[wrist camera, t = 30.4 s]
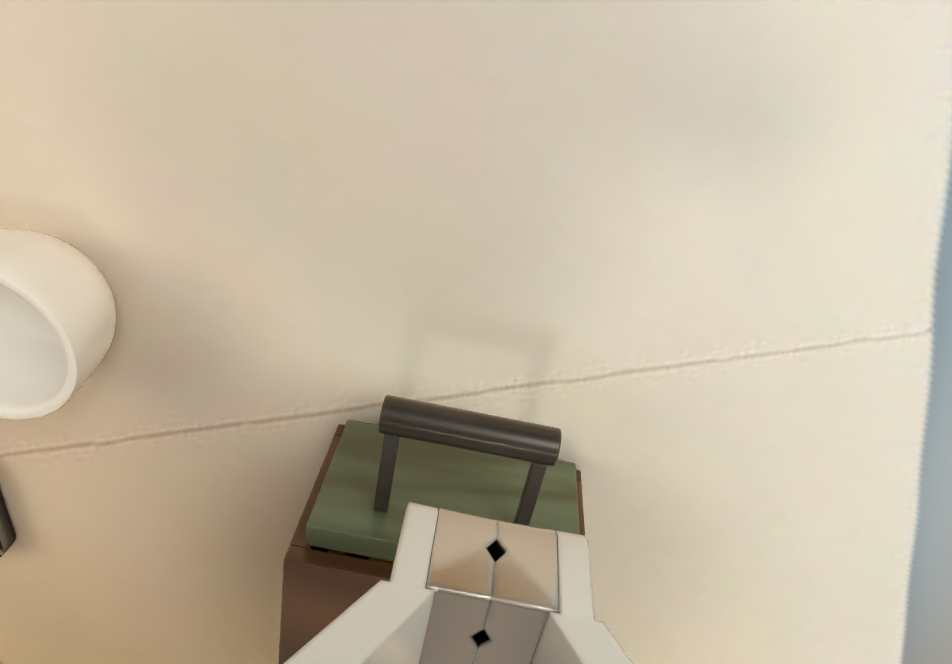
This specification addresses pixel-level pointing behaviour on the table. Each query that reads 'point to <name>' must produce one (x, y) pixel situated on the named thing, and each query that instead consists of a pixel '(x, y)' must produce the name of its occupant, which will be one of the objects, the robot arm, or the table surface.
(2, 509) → the phone
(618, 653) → the robot arm
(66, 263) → the teacup
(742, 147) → the table surface
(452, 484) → the drawer
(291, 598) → the cabinet
